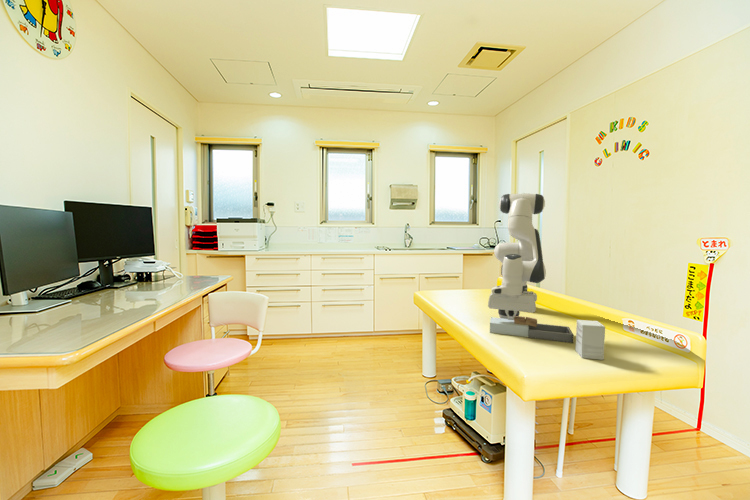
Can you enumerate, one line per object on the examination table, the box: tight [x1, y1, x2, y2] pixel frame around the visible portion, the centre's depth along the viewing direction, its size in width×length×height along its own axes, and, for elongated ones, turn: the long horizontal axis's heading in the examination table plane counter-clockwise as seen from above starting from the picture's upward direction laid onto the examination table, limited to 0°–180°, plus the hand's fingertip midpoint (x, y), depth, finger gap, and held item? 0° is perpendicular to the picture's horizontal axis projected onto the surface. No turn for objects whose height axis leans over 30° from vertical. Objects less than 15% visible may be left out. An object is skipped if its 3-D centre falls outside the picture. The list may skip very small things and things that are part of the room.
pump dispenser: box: [497, 309, 521, 319], centre depth 168 cm, size 10×10×15 cm
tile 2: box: [525, 316, 538, 327], centre depth 147 cm, size 4×4×2 cm
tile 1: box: [514, 315, 526, 325], centre depth 149 cm, size 4×4×2 cm
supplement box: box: [575, 319, 606, 361], centre depth 123 cm, size 7×7×13 cm
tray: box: [527, 323, 574, 344], centre depth 145 cm, size 12×17×4 cm
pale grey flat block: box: [489, 316, 529, 338], centre depth 151 cm, size 10×16×4 cm, turn 68°
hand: (510, 319), depth 151 cm, fingers closed
